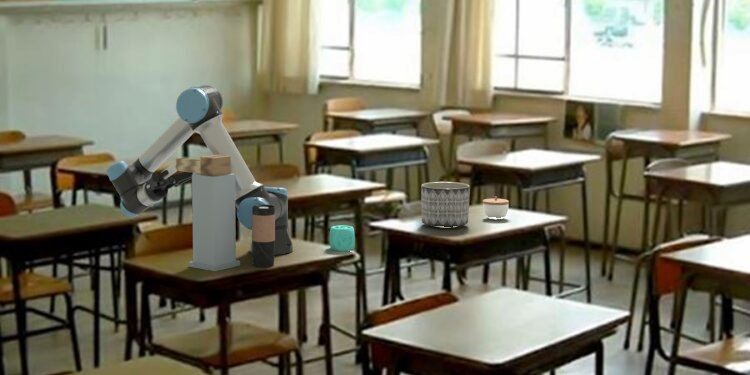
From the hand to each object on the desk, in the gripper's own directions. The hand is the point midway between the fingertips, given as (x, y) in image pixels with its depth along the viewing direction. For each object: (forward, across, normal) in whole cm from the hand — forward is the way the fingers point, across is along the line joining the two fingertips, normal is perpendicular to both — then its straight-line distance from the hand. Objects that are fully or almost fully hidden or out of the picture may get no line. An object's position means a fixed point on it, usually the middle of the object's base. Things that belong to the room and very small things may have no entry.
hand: (189, 165), depth 413 cm
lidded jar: (+13, -140, -46) cm, 148 cm away
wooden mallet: (+4, 0, -5) cm, 6 cm away
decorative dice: (+5, -50, -42) cm, 65 cm away
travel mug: (+3, -11, -40) cm, 42 cm away
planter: (+7, -112, -43) cm, 120 cm away
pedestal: (-7, 0, -34) cm, 35 cm away
